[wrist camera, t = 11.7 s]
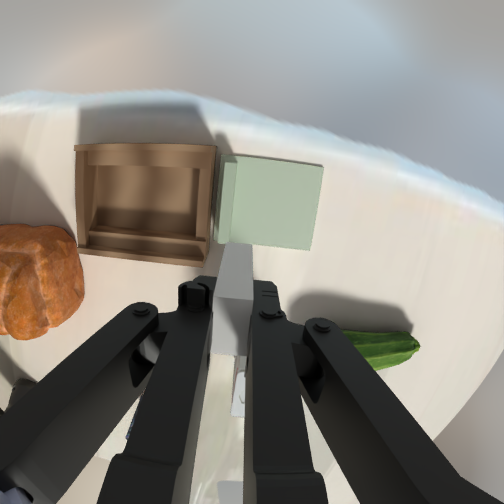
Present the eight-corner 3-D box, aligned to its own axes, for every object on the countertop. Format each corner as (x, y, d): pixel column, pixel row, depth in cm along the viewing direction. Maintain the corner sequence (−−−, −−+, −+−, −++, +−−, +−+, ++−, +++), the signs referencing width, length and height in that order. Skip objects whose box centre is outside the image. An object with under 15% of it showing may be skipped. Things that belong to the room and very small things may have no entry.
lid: (214, 238, 37) (210, 248, 34) (221, 154, 34) (218, 155, 30) (308, 248, 38) (314, 259, 34) (322, 167, 34) (330, 169, 30)
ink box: (265, 361, 43) (269, 421, 32) (233, 358, 43) (229, 417, 32) (276, 315, 40) (283, 373, 29) (240, 311, 40) (236, 369, 29)
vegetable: (310, 369, 33) (439, 361, 34) (306, 319, 38) (428, 319, 39) (296, 387, 39) (414, 379, 40) (295, 343, 44) (406, 341, 44)
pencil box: (95, 240, 37) (77, 253, 32) (94, 143, 32) (74, 145, 27) (208, 252, 37) (202, 267, 32) (216, 146, 33) (211, 145, 28)
